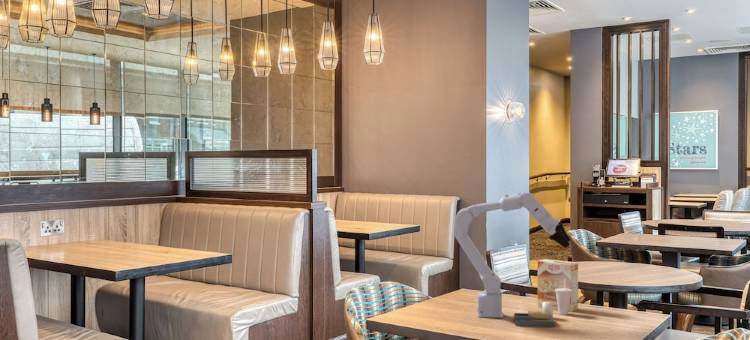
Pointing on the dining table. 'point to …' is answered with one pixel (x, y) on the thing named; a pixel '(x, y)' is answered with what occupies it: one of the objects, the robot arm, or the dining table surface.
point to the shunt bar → (539, 315)
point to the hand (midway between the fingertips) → (568, 243)
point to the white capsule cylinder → (547, 307)
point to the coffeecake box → (557, 281)
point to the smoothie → (563, 299)
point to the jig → (531, 321)
